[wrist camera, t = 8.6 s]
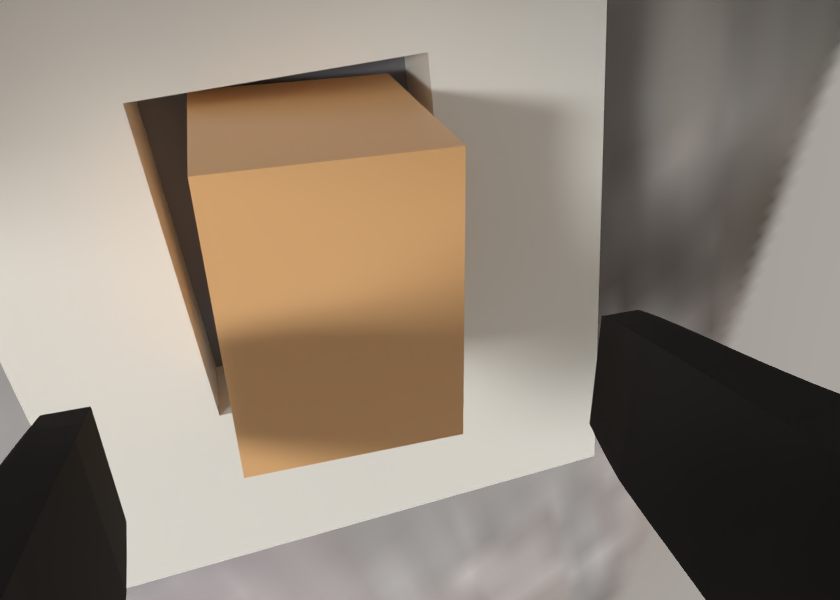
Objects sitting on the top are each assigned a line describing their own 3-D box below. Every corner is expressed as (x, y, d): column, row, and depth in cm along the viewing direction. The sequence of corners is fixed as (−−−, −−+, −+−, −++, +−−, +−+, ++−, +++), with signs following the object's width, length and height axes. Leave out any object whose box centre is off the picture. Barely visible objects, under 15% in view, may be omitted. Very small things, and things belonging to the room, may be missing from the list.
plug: (227, 314, 18) (244, 478, 13) (186, 81, 15) (187, 176, 10) (390, 289, 19) (463, 434, 14) (379, 65, 16) (465, 146, 11)
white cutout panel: (118, 521, 20) (110, 609, 18) (-185, -165, 12) (-279, -177, 10) (558, 404, 23) (602, 468, 20) (554, -237, 14) (629, -261, 12)
